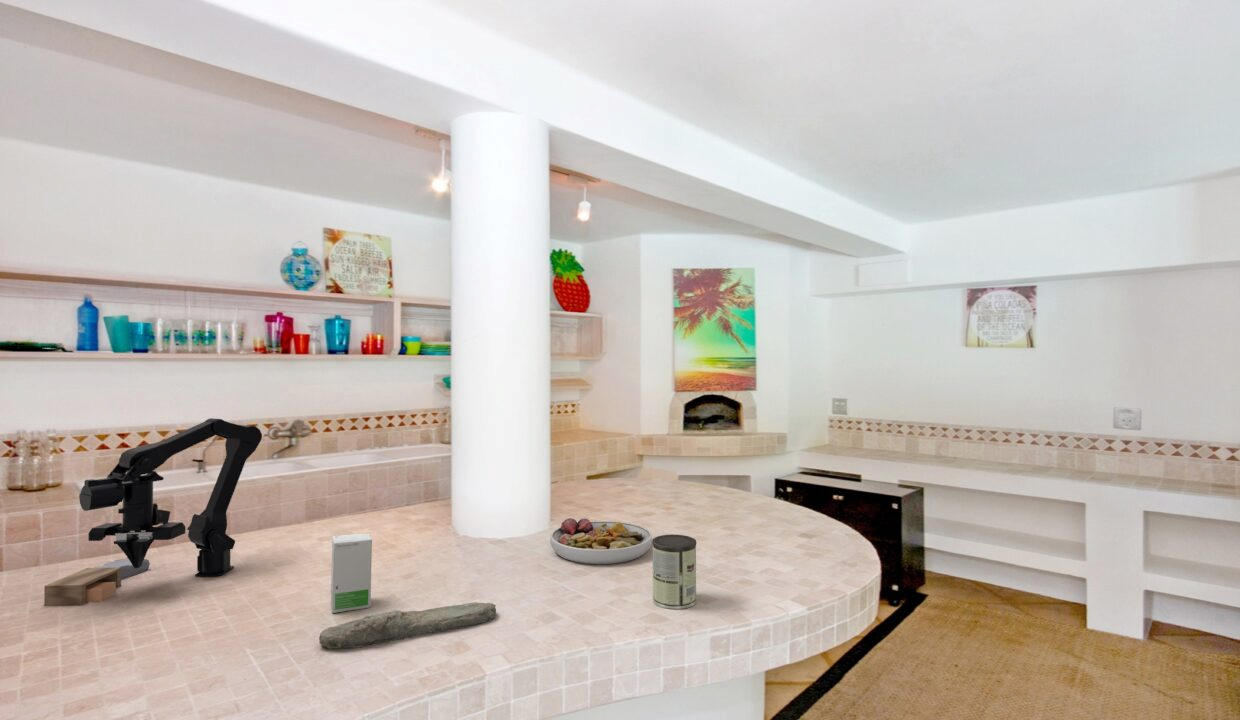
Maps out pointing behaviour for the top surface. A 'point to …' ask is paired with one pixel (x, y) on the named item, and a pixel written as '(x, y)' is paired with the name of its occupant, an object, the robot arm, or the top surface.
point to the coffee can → (674, 571)
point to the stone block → (126, 567)
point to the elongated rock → (404, 625)
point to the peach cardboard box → (100, 591)
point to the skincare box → (351, 572)
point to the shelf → (78, 585)
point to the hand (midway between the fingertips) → (137, 567)
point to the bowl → (600, 541)
